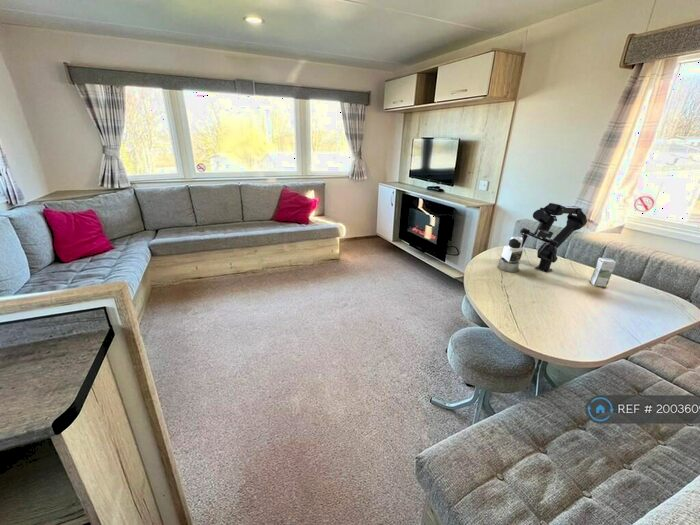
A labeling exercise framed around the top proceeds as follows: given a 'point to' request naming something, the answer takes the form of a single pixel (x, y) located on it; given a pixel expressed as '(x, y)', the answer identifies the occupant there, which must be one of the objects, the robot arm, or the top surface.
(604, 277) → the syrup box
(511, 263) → the grey bowl
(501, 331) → the top surface
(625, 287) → the top surface
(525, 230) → the robot arm
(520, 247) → the cup
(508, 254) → the medicine bottle
